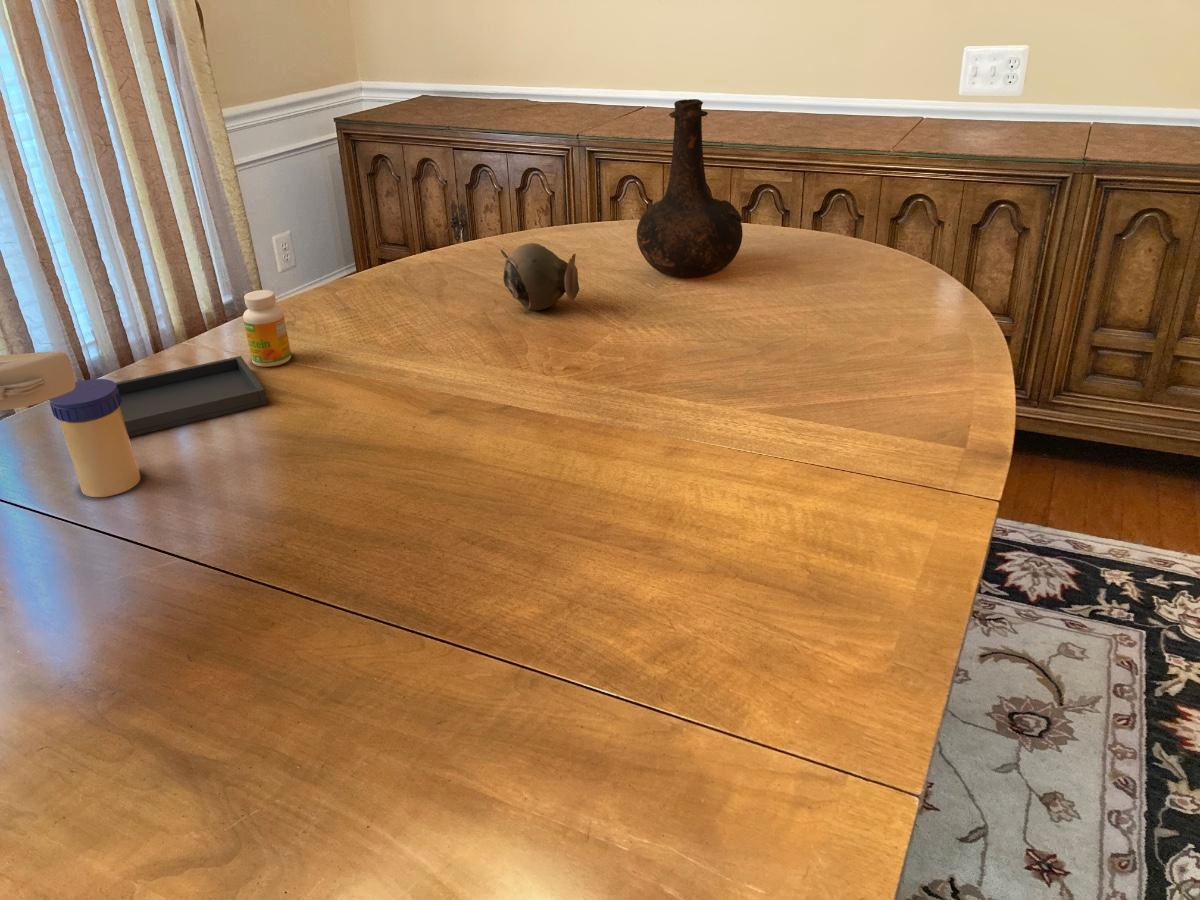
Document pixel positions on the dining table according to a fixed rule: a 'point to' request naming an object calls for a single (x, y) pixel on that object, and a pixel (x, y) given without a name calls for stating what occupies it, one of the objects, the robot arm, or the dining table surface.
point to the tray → (188, 395)
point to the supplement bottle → (266, 329)
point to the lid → (87, 401)
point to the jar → (102, 454)
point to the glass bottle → (689, 210)
